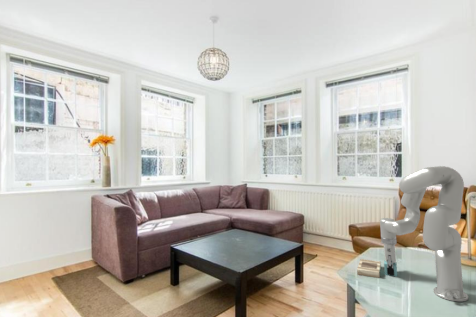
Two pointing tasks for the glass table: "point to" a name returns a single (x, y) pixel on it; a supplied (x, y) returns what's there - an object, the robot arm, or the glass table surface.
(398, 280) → the glass table surface
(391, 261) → the teal block
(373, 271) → the birch base
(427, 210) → the robot arm
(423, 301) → the glass table surface
